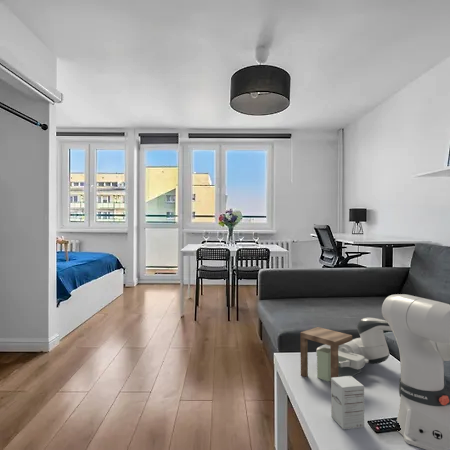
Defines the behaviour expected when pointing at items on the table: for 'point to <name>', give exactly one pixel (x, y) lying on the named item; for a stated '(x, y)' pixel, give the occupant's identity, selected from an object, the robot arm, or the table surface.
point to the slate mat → (347, 371)
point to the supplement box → (347, 402)
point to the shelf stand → (322, 337)
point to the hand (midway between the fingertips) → (329, 361)
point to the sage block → (324, 364)
